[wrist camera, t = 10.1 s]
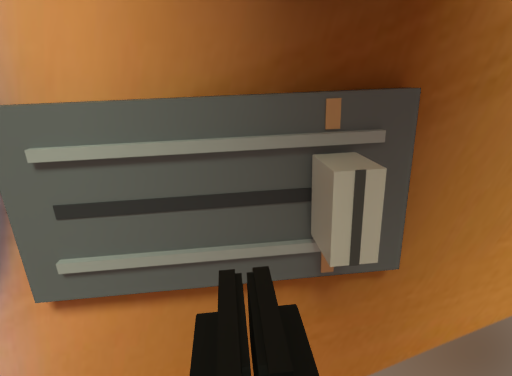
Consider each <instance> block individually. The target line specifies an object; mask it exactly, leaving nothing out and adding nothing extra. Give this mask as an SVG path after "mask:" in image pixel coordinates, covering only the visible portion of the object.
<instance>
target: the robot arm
mask: <svg viewBox="0 0 512 376" xmlns="http://www.w3.org/2000/svg"><path fill="white" fill-rule="evenodd" d="M252 271H253V272H247V290H248V309H249V328H250V343H251V353H252V363H253V372H254V376H319V373H318V370H317V367H316V364H315V361H314V358H313V354H312V351H311V348H310V345H309V342H308V339H307V336H306V332H305V329H304V326H303V323H302V320H301V317H300V313H299V310H298V308H297V305H296V304H293V305H283V306H278V303H277V299H276V295H275V291H274V286H273V282H272V278H271V274H270V270H269V266H263V267H253V268H252ZM190 376H251V368H250V357H249V347H248V336H247V326H246V315H245V304H244V294H243V283H242V273H235V269H229V270H219V283H218V312H212V313H202V314H197V315H196V322H195V331H194V341H193V350H192V359H191V369H190Z"/></svg>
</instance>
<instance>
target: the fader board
mask: <svg viewBox="0 0 512 376" xmlns="http://www.w3.org/2000/svg"><path fill="white" fill-rule="evenodd" d="M420 93H421V88H384V89H361V90H338V91H316V92H293V93H270V94H247V95H224V96H201V97H178V98H155V99H133V100H110V101H87V102H64V103H41V104H18V105H0V192H1V195H2V198H3V202H4V205H5V208H6V211H7V214H8V217H9V221H10V224H11V227H12V230H13V233H14V237H15V240H16V243H17V246H18V249H19V253H20V256H21V259H22V262H23V265H24V268H25V272H26V275H27V278H28V281H29V284H30V288H31V291H32V294H33V297H34V300H35V303H41V302H52V301H62V300H73V299H84V298H94V297H105V296H116V295H127V294H137V293H148V292H159V291H169V290H180V289H191V288H201V287H212V286H218V283H219V270H229V269H235V273H242V283H243V284H244V283H247V272H253V271H252V268H253V267H263V266H269V270H270V274H271V278H272V281H276V280H287V279H298V278H308V277H319V276H330V275H341V274H351V273H362V272H373V271H383V270H394V269H399V264H400V256H401V248H402V240H403V231H404V223H405V215H406V207H407V199H408V191H409V182H410V174H411V166H412V158H413V150H414V142H415V133H416V125H417V117H418V109H419V101H420ZM347 152H356V153H358V154H360V155H362V156H364V157H366V158H368V159H370V160H372V161H374V162H375V163H377V164H379V165H381V166H383V167H385V168H387V171H386V182H385V192H384V202H383V212H382V223H381V233H380V243H379V254H378V263H368V264H359V265H357V266H349V265H346V266H335V267H330V266H329V264H328V262H327V261H326V259H325V257H324V256H323V254H322V252H321V251H320V249H319V247H318V245H317V244H316V242H315V240H314V239H313V237H312V235H311V207H312V156H313V155H314V154H330V153H347Z"/></svg>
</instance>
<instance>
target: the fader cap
mask: <svg viewBox="0 0 512 376" xmlns="http://www.w3.org/2000/svg"><path fill="white" fill-rule="evenodd" d="M386 171H387V168H385V167H383V166H381V165H379V164H377V163H375V162H374V161H372V160H370V159H368V158H366V157H364V156H362V155H360V154H358V153H356V152H347V153H330V154H314V155H313V156H312V207H311V235H312V237H313V239H314V240H315V242H316V244H317V245H318V247H319V249H320V251H321V252H322V254H323V256H324V257H325V259H326V261H327V262H328V264H329V266H330V267H335V266H346V265H349V266H357V265H359V264H368V263H378V254H379V243H380V233H381V223H382V212H383V202H384V192H385V182H386Z"/></svg>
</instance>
